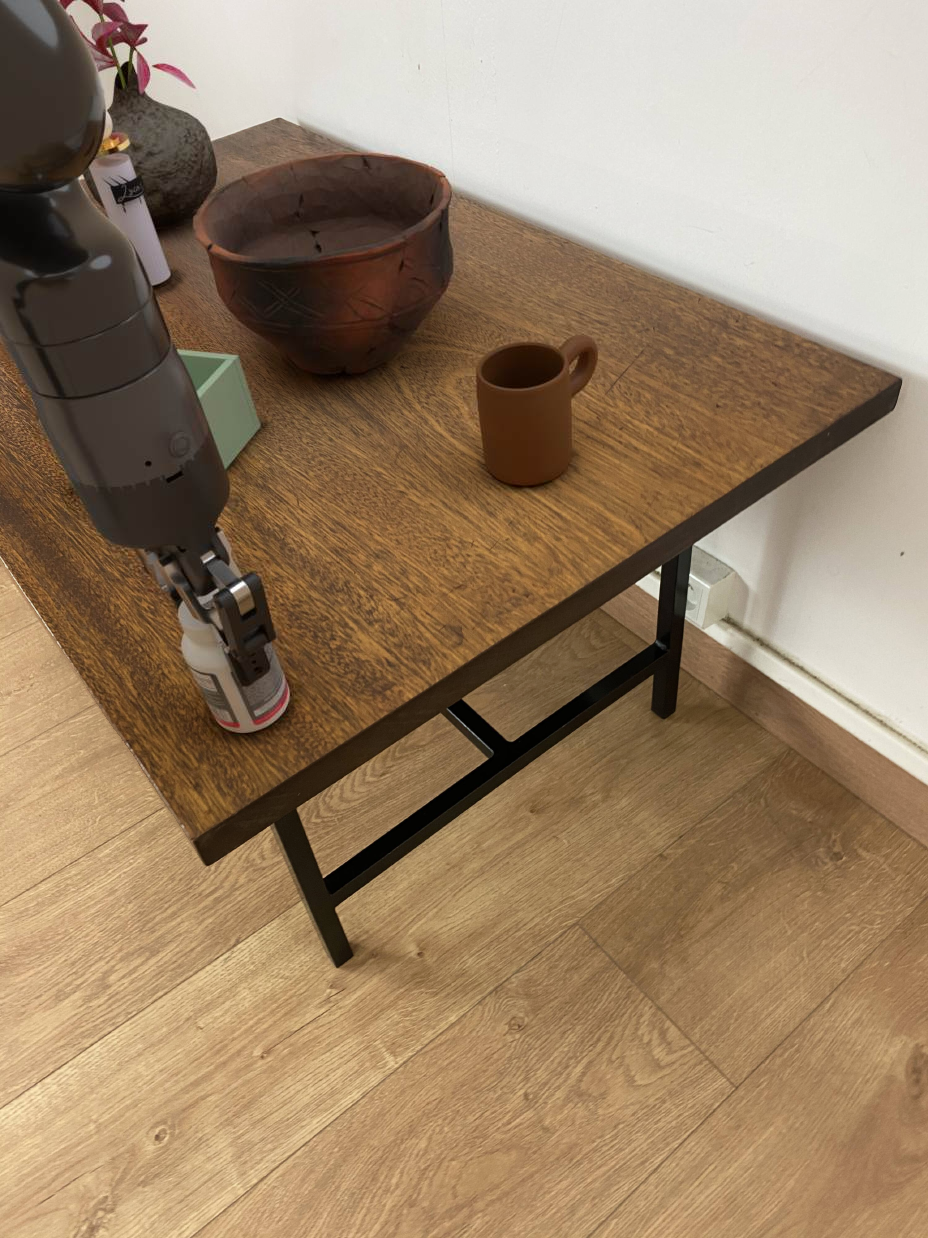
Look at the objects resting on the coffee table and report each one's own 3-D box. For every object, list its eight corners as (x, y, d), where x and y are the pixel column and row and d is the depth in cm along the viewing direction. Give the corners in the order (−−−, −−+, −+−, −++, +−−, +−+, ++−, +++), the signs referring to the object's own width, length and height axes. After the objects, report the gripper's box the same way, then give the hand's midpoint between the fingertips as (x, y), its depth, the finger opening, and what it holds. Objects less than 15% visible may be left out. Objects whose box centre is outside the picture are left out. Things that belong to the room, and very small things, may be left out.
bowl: (515, 310, 96) (505, 161, 85) (376, 436, 83) (343, 278, 72) (336, 270, 107) (306, 134, 96) (188, 375, 94) (134, 231, 83)
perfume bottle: (120, 288, 110) (49, 109, 95) (157, 268, 113) (93, 91, 98) (150, 298, 107) (81, 115, 93) (187, 277, 110) (125, 96, 95)
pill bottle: (287, 666, 65) (250, 567, 57) (294, 724, 61) (255, 626, 54) (212, 684, 64) (165, 586, 57) (215, 744, 60) (164, 647, 53)
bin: (192, 510, 78) (162, 437, 73) (74, 490, 82) (37, 420, 76) (261, 426, 86) (238, 354, 81) (150, 412, 90) (121, 343, 84)
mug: (564, 403, 83) (562, 308, 76) (626, 436, 79) (629, 338, 72) (466, 463, 79) (454, 368, 72) (526, 501, 74) (519, 403, 67)
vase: (84, 243, 121) (-29, -27, 99) (150, 189, 132) (63, -65, 110) (193, 247, 116) (100, -35, 94) (253, 190, 127) (182, -74, 105)
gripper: (10, 418, 49) (127, 629, 61) (135, 534, 41) (241, 750, 53) (132, 359, 52) (221, 571, 64) (271, 456, 44) (341, 677, 56)
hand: (229, 652), depth 58 cm, fingers closed on pill bottle, 5 cm apart
